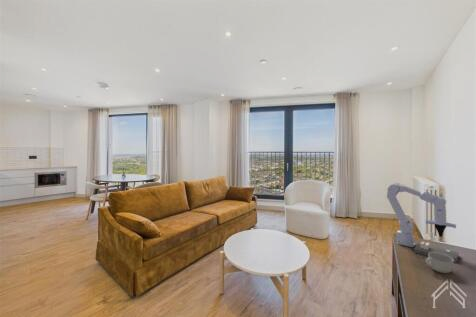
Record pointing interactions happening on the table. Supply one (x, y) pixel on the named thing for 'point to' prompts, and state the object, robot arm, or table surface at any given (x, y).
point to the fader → (425, 245)
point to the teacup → (440, 262)
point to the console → (438, 250)
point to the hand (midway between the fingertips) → (440, 236)
